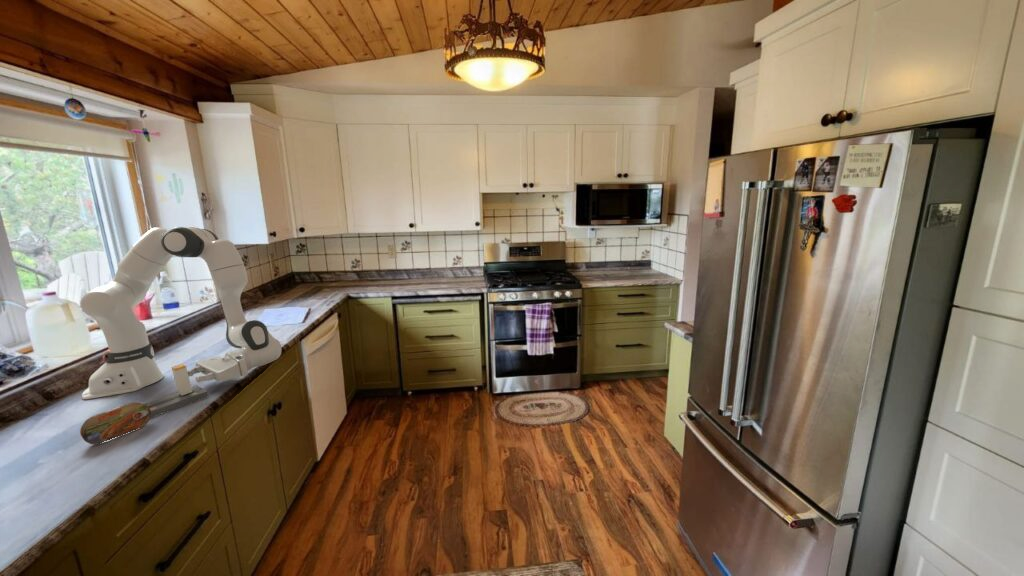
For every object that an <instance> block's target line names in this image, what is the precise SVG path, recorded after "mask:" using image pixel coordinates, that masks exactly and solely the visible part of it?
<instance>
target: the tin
mask: <svg viewBox="0 0 1024 576" xmlns="http://www.w3.org/2000/svg"><path fill="white" fill-rule="evenodd" d="M150 417H151V411H150V409H149V407H148V406H146V405H145V403H141V402H136V401H135V402H134V401H133V402H127V403H125V404H123V405H119V406H116V407H114V408H111V409H109V410H106V411H103V412H99V413H97V414H94V415H92V416H90V417H89V418H87V420H85V421H84V422H83V423H82V425H81V428H80V430H79V431H80V436H81V438H82V439H83V441H84V442H86V443H88V444H91V445H101V444H100V443H102V442H104V441H107V440H110V439H112V438H115V437H118V436H121V435H123V434H126V433H128V432H131V431H133V430H136V429H138V428H140V429H142V428H143V426H144V427H145V426H146V425H147V423H148V422H149V421H150V419H151V418H150ZM141 427H142V428H141ZM138 430H139V429H138ZM136 431H137V430H136ZM131 433H132V432H131ZM126 435H127V434H126ZM121 437H122V436H121Z"/></svg>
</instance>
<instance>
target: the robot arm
mask: <svg viewBox="0 0 1024 576" xmlns="http://www.w3.org/2000/svg"><path fill="white" fill-rule="evenodd" d="M173 257H179V258H201V259H202V260H203V261H204V262H205V263H206V265H207V268H208V270H209V274H210V276H211V279H212V281H213V284H214V286H215V288H216V292H217V295H218V298H219V302H220V305H221V310H222V312H223V315H224V318H225V322H226V331H225V332H226V333H225V338H226V341H227V343H228V345H230V346H231V347H232V348H234V350H231V351H228V352H226V353H225V354H224V356H223V357H222V356H212V357H209V358H205V359H201V360H199V361H196V362H195V366H194V367H192V368H191V369H189V370H187V372H188V376H189V378H190V377H192V376H194V375H195V374H199V373H201V374H202V375H199V376H196V377H195V382H197V383H203V382H206V381H208V382H209V381H212V380H215V381H217V382H219V383H223V382H226V381H227V382H228V381H231V380H234V379H237V378H239V377H245V376H247V375H249V371H250V370H252V369H254V368H256V367H257V368H258V367H262V366H265V365H267V364H269V363H272V362H274V361H276V360H278V358H280V356H281V354H282V350H283V349H282V345H281V341H279V339H277V338H275V336H273V335H272V334H271V333H270V331H269V330H268V327H267V326H266V324H265V323H263V322H262V321H260V320H257V319H256V320H255V319H253V320H247V319H246V317H245V314H244V310H243V305H242V303H241V296H242V293H243V291H244V289H245V287H246V286H247V284H248V282H249V281H248V278H249V277H248V272H247V269H246V267H245V263H244V262H243V259H242V256H241V254H240V253H239V251H238V249H237V247H236V246H235V244H234V243H233V242H232V241H230V240H227V239H222V238H221V239H219V237H218V236H217V235H216V233H214V232H212V231H210V230H208V229H205V228H199V227H194V226H193V227H192V226H190V227H184V226H178V227H173V228H169V229H167V228H164V227H153V228H151V229H149V230H148V231H147V232H145V233H143V235H142V236H140V237H139V239H138V240H136V242H135V243H134V244H133V245H132V246H131V247H130V249H129V250H128V251H127V252H126V253H125V255H124V256H123V258H122V259H121V260H120V261H119V262H118V264H117V269H116V271H115V272H116V273H115V274H114V276H113V278H112V279H110V281H108V282H107V283H106V284H105V283H104V284H103V285H100V286H97V287H95V288H92V289H91V290H89V291H88V292H87V293H86V294H85V295H83V296H82V297H81V300H80V308H81V310H82V312H83V313H84V314H85V315H88V316H89V317H91V318H93V319H94V320H95V322H96V323H97V324H98V326H99V327H100V329H101V331H102V333H103V335H104V339H105V341H106V343H107V344H106V345H107V347H108V349H107V350H106V351H105V352H104V354H103V355H102V361H104V364H102V365H101V366H100V367H99V368H98V369H96V371H94V373H92V374H91V375H90V377H89V379H88V387H87V388H86V389H85V390H84V391H83V392H82V394H81V398H82V400H91V399H96V398H103V397H108V396H115V395H120V394H121V395H122V394H127V393H132V392H133V393H134V392H136V391H139V390H141V389H143V388H145V387H146V386H150V385H152V384H154V383H157V382H159V381H160V380H162V379H163V378H164V377H165V374H164V373H163V372H162V371H161V369H160V367H159V365H158V363H157V362H156V360H155V351H154V347H153V346H152V343H151V342H150V340H149V336H148V333H147V330H146V325H145V324H144V323H143V322H142V321H140V320H139V319H138V318H137V316H136V314H135V313H134V310H133V308H135V307H137V306H138V305H140V304H141V303H142V301H144V299H145V298H146V296H147V293H148V292H149V290H150V288H151V286H152V283H154V281H155V279H156V278H157V276H158V275H159V274H160V273H161V272H162V270H163V269H164V268H165V266H166V265H167V264H168V263H169V261H171V259H172V258H173ZM235 348H236V349H235Z"/></svg>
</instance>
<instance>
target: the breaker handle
mask: <svg viewBox="0 0 1024 576" xmlns="http://www.w3.org/2000/svg"><path fill="white" fill-rule="evenodd" d="M171 370H172V374H173V377H174V380H175V385H176V390H177V392H178V394H180V395H185V394H188V393H191V392H192V388H191V387H192V385H191V381H190V377H189V376H188V372H187V371H188V369H187V365H186V364H184V363H180V364H177V365H174V366H171Z"/></svg>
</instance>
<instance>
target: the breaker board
mask: <svg viewBox="0 0 1024 576" xmlns="http://www.w3.org/2000/svg"><path fill="white" fill-rule="evenodd" d="M191 388H192V392H191V393H188V394H185V395H180V394H178V391H176V392H173V393H171V394H168V395H165V396H162V397H159V398H157V399H153V400H150V401H148V402H145V403H144V404H145V405H146V406H148V407H149V409H150V411H151V417H152V418H154V416H155V417H157V416H160V415H162V414H161V413H163V414H165V413H167V411H168V412H170V411H173V410H175V408H176V409H178V408H180V406H181V407H184V406H186V405H188V404H191V402H192V403H193V402H194V403H195V402H197V401H199V399H200V400H202V399H204V398H208V397H209V392H208V390H206V389H204V387H203V388H202V387H201V386H199V385H197V384H196V385H193V386H191ZM207 396H208V397H207ZM183 405H184V406H183ZM164 412H165V413H164ZM159 414H160V415H159ZM156 415H157V416H156ZM151 417H150V419H151Z"/></svg>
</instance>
